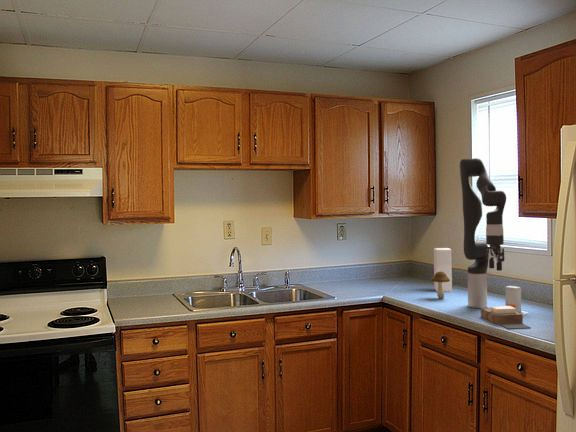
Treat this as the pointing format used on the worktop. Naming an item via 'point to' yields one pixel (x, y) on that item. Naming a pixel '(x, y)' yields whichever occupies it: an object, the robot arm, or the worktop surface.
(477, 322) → the worktop surface
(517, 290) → the skincare box
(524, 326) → the mat
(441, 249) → the tall white carton
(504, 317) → the brown flat block
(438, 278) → the mushroom
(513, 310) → the cream rectangular block
